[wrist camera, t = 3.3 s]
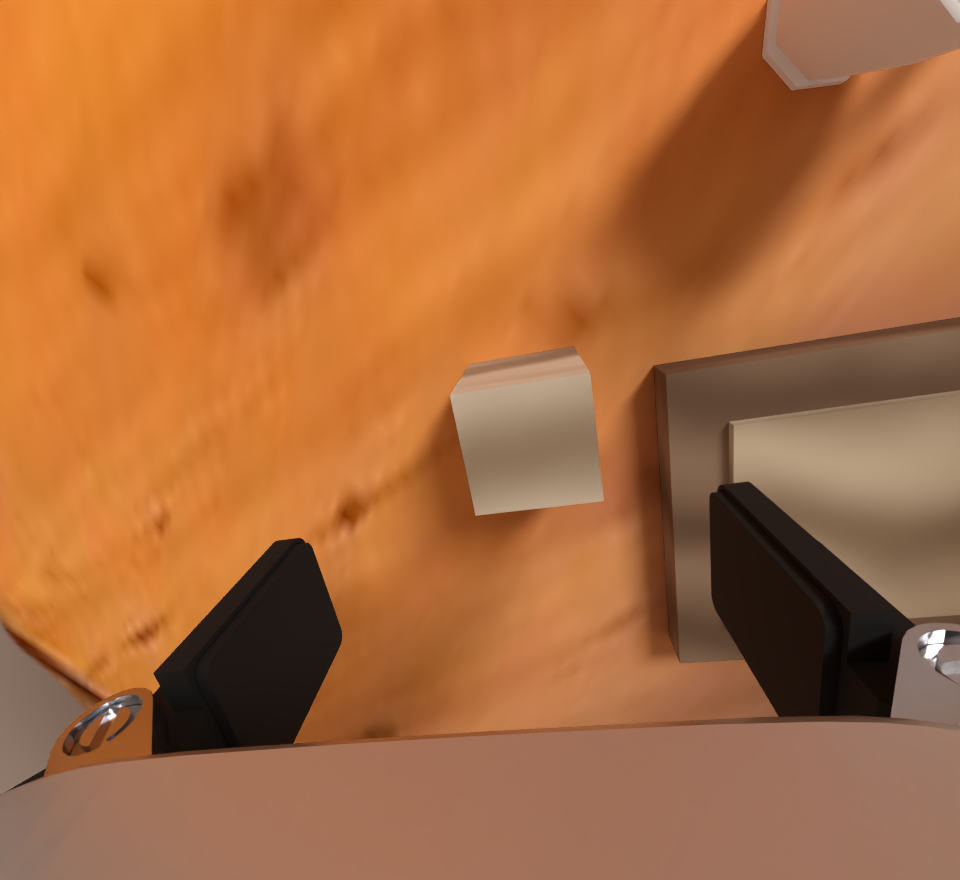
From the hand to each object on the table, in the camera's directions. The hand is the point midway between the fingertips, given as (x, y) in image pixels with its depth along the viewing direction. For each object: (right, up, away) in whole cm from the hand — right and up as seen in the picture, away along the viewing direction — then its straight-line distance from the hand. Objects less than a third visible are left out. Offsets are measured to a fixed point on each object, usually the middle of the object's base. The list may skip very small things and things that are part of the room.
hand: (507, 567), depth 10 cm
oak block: (+2, +5, +12) cm, 13 cm away
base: (+17, 0, +12) cm, 20 cm away
